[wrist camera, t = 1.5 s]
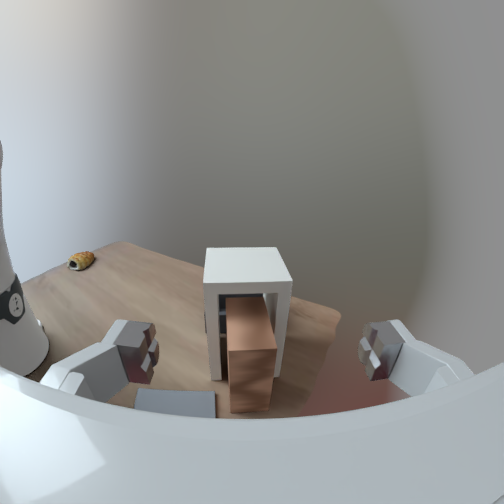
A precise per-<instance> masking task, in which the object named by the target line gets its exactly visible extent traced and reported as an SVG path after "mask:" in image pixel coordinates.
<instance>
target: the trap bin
mask: <svg viewBox="0 0 504 504" xmlns="http://www.w3.org/2000/svg"><path fill="white" fill-rule="evenodd" d="M241 297H263V293H256V294H219V321H220V333H226V298H241ZM204 316H205V315H204ZM205 328H206V318H205ZM206 333H207V331H206Z"/></svg>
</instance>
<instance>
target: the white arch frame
mask: <svg viewBox="0 0 504 504" xmlns="http://www.w3.org/2000/svg"><path fill="white" fill-rule="evenodd" d="M203 289H204V304H205V318H206V331H207V342H208V353H209V364H210V373H211V380H222V379H221V348H220V321H219V294H256V293H263V297H264V300H265V304H266V308H267V311H268V315H269V319H270V323H271V326H272V330H273V334H274V338H275V341H276V345H277V355H276V363H275V370H274V377H279V376H280V370H281V363H282V357H283V350H284V343H285V336H286V329H287V322H288V314H289V307H290V299H291V290H292V279H291V277H290V275H289V272H288V270H287V268H286V266H285V264H284V262H283V260H282V258H281V256H280V254H279V252H278V250H277V248H276V247H260V248H207V252H206V261H205V270H204V280H203Z"/></svg>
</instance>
